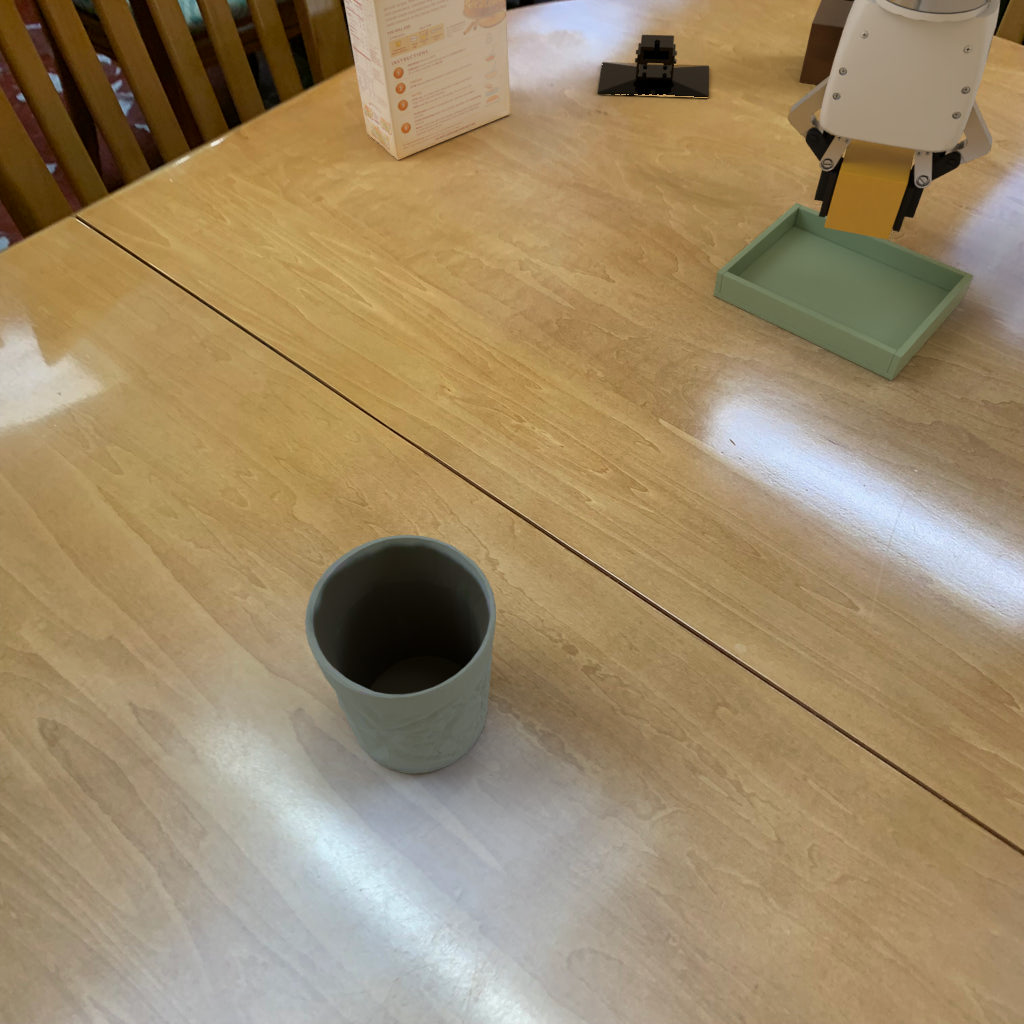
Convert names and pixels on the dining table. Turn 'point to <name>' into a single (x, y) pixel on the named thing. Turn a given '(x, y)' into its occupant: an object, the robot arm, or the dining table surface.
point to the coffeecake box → (429, 68)
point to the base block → (824, 40)
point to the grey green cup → (406, 648)
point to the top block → (869, 189)
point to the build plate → (654, 72)
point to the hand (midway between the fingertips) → (861, 212)
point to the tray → (843, 290)
